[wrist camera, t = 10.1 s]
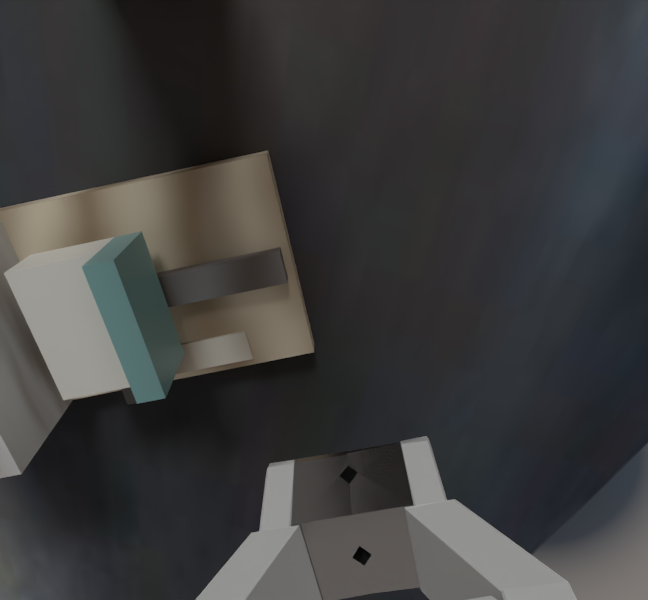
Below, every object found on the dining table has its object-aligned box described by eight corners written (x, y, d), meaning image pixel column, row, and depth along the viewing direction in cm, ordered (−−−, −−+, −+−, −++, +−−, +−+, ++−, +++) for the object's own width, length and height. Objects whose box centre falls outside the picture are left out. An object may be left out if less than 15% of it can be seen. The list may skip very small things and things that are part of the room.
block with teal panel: (141, 231, 31) (113, 260, 26) (196, 386, 35) (179, 435, 30) (30, 254, 31) (-18, 287, 27) (97, 406, 35) (66, 457, 31)
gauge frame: (268, 150, 32) (254, 181, 23) (313, 341, 37) (316, 425, 29) (-100, 229, 33) (-243, 287, 25) (-7, 405, 38) (-98, 504, 30)
